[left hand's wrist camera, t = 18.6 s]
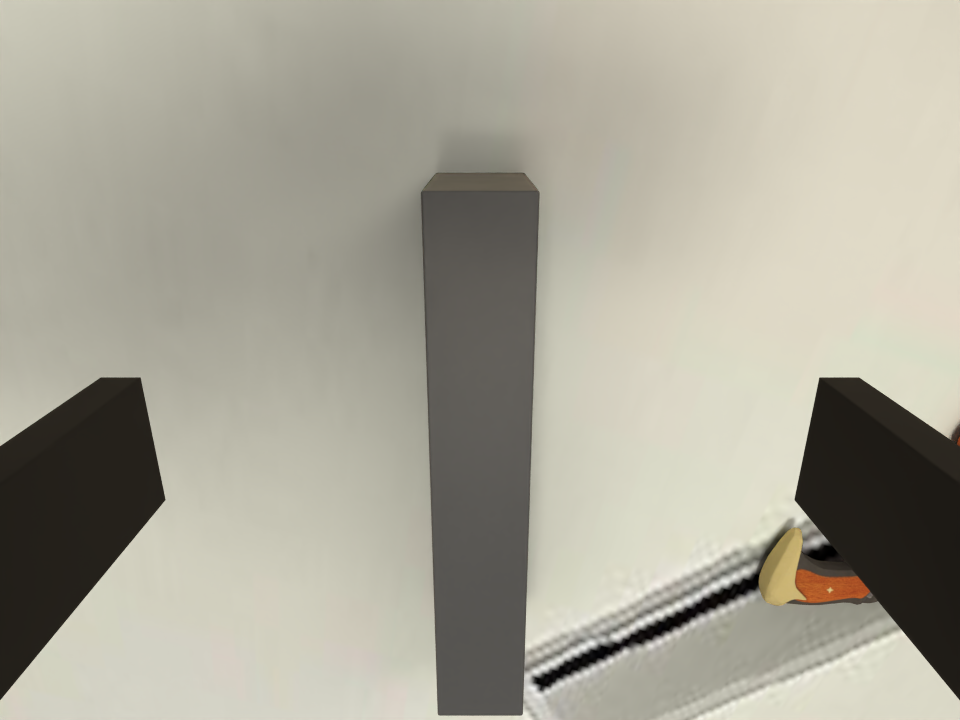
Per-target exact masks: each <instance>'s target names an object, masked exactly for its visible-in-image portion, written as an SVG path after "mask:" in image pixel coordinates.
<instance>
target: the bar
mask: <svg viewBox="0 0 960 720" xmlns="http://www.w3.org/2000/svg"><path fill="white" fill-rule="evenodd" d="M421 206H422V237H423V268H424V299H425V330H426V361H427V392H428V423H429V454H430V485H431V516H432V547H433V578H434V609H435V640H436V671H437V702H438V715H522V714H523V690H524V659H525V627H526V596H527V565H528V533H529V502H530V471H531V440H532V408H533V377H534V346H535V315H536V283H537V252H538V221H539V191H538V190H537V189H536V187H535V186H534V185H533V183H532V182H531V181H530V180H529V178H528V177H527V176H526V175H525V174H524V173H436V174H435V176H434V177H433V178H432V179H431V180H430V182H429V183H428V184H427V185H426V187H425V188H424V189H423V190H422V192H421Z"/></svg>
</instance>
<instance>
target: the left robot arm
mask: <svg viewBox="0 0 960 720" xmlns="http://www.w3.org/2000/svg"><path fill="white" fill-rule="evenodd" d="M164 501H165V495H164V490H163V485H162V481H161V476H160V471H159V466H158V461H157V456H156V451H155V446H154V441H153V437H152V432H151V427H150V422H149V417H148V412H147V407H146V402H145V397H144V392H143V388H142V383H141V378H100V379H98V380H97V381H95V382H94V383H92V384H91V385H89V386H88V387H86V388H85V389H83V390H82V391H80V392H79V393H78V394H76V395H75V396H73V397H72V398H70V399H69V400H67V401H66V402H64V403H63V404H61V405H60V406H59V407H57V408H56V409H54V410H53V411H51V412H50V413H48V414H47V415H45V416H44V417H42V418H41V419H39V420H38V421H37V422H35V423H34V424H32V425H31V426H29V427H28V428H26V429H25V430H23V431H22V432H20V433H19V434H17V435H16V436H15V437H13V438H12V439H10V440H9V441H7V442H6V443H4V444H3V445H1V446H0V700H1V698H2V697H3V696H4V695H5V694H6V692H7V691H8V690H9V689H10V688H11V686H12V685H13V684H14V683H15V682H16V680H17V679H18V678H19V677H20V675H21V674H22V673H23V672H24V671H25V669H26V668H27V667H28V666H29V665H30V663H31V662H32V661H33V660H34V659H35V657H36V656H37V655H38V654H39V652H40V651H41V650H42V649H43V648H44V646H45V645H46V644H47V643H48V642H49V640H50V639H51V638H52V637H53V636H54V634H55V633H56V632H57V631H58V629H59V628H60V627H61V626H62V625H63V623H64V622H65V621H66V620H67V619H68V617H69V616H70V615H71V614H72V612H73V611H74V610H75V609H76V608H77V606H78V605H79V604H80V603H81V602H82V600H83V599H84V598H85V597H86V596H87V594H88V593H89V592H90V591H91V589H92V588H93V587H94V586H95V585H96V583H97V582H98V581H99V580H100V579H101V577H102V576H103V575H104V574H105V573H106V571H107V570H108V569H109V568H110V566H111V565H112V564H113V563H114V562H115V560H116V559H117V558H118V557H119V556H120V554H121V553H122V552H123V551H124V549H125V548H126V547H127V546H128V545H129V543H130V542H131V541H132V540H133V539H134V537H135V536H136V535H137V534H138V533H139V531H140V530H141V529H142V528H143V526H144V525H145V524H146V523H147V522H148V520H149V519H150V518H151V517H152V516H153V514H154V513H155V512H156V511H157V510H158V508H159V507H160V506H161V505H162V503H163V502H164ZM795 501H796V502H797V503H798V505H799V506H800V507H801V508H802V510H803V511H804V512H805V513H806V514H807V516H808V517H809V518H810V519H811V520H812V522H813V523H814V524H815V525H816V526H817V528H818V529H819V530H820V531H821V533H822V534H823V535H824V536H825V537H826V539H827V540H828V541H829V542H830V543H831V545H832V546H833V547H834V548H835V549H836V551H837V552H838V553H839V554H840V556H841V557H842V558H843V559H844V560H845V562H846V563H847V564H848V565H849V566H850V568H851V569H852V570H853V571H854V573H855V574H856V575H857V576H858V577H859V579H860V580H861V581H862V582H863V583H864V585H865V586H866V587H867V588H868V589H869V591H870V592H871V593H872V594H873V596H874V597H875V598H876V599H877V600H878V602H879V603H880V604H881V605H882V606H883V608H884V609H885V610H886V611H887V612H888V614H889V615H890V616H891V617H892V619H893V620H894V621H895V622H896V623H897V625H898V626H899V627H900V628H901V629H902V631H903V632H904V633H905V634H906V636H907V637H908V638H909V639H910V640H911V642H912V643H913V644H914V645H915V646H916V648H917V649H918V650H919V651H920V652H921V654H922V655H923V656H924V657H925V659H926V660H927V661H928V662H929V663H930V665H931V666H932V667H933V668H934V669H935V671H936V672H937V673H938V674H939V675H940V677H941V678H942V679H943V680H944V682H945V683H946V684H947V685H948V686H949V688H950V689H951V690H952V691H953V692H954V694H955V695H956V696H957V697H958V698H959V700H960V446H959V445H957V444H956V443H954V442H953V441H951V440H950V439H948V438H947V437H945V436H944V435H943V434H941V433H940V432H938V431H937V430H935V429H934V428H932V427H931V426H929V425H928V424H926V423H925V422H923V421H922V420H921V419H919V418H918V417H916V416H915V415H913V414H912V413H910V412H909V411H907V410H906V409H904V408H903V407H901V406H900V405H899V404H897V403H896V402H894V401H893V400H891V399H890V398H888V397H887V396H885V395H884V394H882V393H881V392H880V391H878V390H877V389H875V388H874V387H872V386H871V385H869V384H868V383H866V382H865V381H863V380H862V379H860V378H819V383H818V388H817V392H816V397H815V402H814V407H813V412H812V417H811V422H810V427H809V432H808V437H807V441H806V446H805V451H804V456H803V461H802V466H801V471H800V476H799V481H798V485H797V490H796V495H795Z"/></svg>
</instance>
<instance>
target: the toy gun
mask: <svg viewBox="0 0 960 720" xmlns="http://www.w3.org/2000/svg"><path fill="white" fill-rule="evenodd" d="M957 445H959V446H960V437H959V438H958V442H957ZM802 542H803V539H802V532H801V530H800V529H799V528H792V529H789V530H788V531H787V532H786V533H785V535H784V536H783V537H782V538H781V539H780V541H779V542H778V543H777V545H776V546H775V547H774V549H773V550H772V551H771V553H770V554H769V556H768V557H767V559H766V561H765V563H764V565H763V567H762V570H761V572H760V576H759V588H760V592H761V594H762V597H763V599H764V600H765V601H766V602H767V603H770V604H773V605H777V606H780V605H783V604H785V603H790V604H802V605H823V604H832V603H842V602H848V603H854V604H861V603H873V602H877V601H878V600H877V599H876V598H875V597H874V596H873V594H872V593H871V592H870V591H869V589H868V588H867V587H866V586H865V585H864V583H863V582H862V581H861V580H860V579H859V577H858V576H857V575H856V574H855V573H854V571H853V570H852V569H851V568H850V566H849V565H848V564H847V563H846V562H845V561H843V562H831V561H818V560H815V559H812V558H810V557H809V556H807V555H805V554H804V553H803V552H802V551H801V549H802Z"/></svg>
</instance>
